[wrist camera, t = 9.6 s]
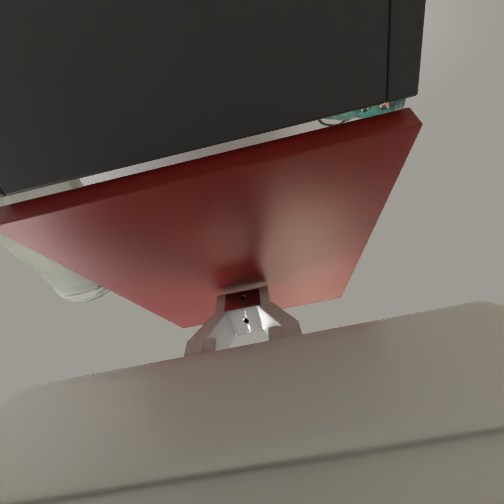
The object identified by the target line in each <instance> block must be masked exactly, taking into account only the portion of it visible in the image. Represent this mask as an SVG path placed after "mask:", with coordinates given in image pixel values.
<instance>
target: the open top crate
mask: <svg viewBox="0 0 504 504" xmlns="http://www.w3.org/2000/svg"><path fill="white" fill-rule="evenodd" d="M425 2H426V0H0V198H1V197H5V196H8V195H14V194H18V193H22V192H26V191H30V190H34V189H38V188H42V187H46V186H50V185H54V184H58V183H62V182H66V181H71V180H75V179H79V178H83V177H87V176H91V175H95V174H99V173H103V172H107V171H111V170H115V169H119V168H123V167H128V166H131V165H136V164H139V163H144V162H148V161H152V160H156V159H160V158H164V157H168V156H172V155H176V154H180V153H184V152H188V151H193V150H196V149H201V148H205V147H209V146H213V145H217V144H221V143H225V142H229V141H233V140H237V139H241V138H245V137H250V136H254V135H258V134H262V133H266V132H270V131H274V130H278V129H282V128H286V127H290V126H295V125H298V124H303V123H307V122H311V121H315V120H319V119H323V118H327V117H331V116H335V115H339V114H343V113H347V112H352V111H356V110H360V109H364V108H368V107H372V106H376V105H380V104H383V103H388V102H392V101H397V100H401V99H405V98H408V97H413V96H416V95H417V93H418V82H419V72H420V60H421V48H422V36H423V25H424V13H425Z"/></svg>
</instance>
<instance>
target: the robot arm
mask: <svg viewBox="0 0 504 504" xmlns="http://www.w3.org/2000/svg"><path fill="white" fill-rule="evenodd" d="M264 330H265V332H266V333H267V334H268V335H269V341H265V342H260V343H255V344H250V345H244V346H239V347H234V348H229V347H230V345H231V344H232V342H233V340H234V339H235V337H236V336H238V335H242V334H247V333H252V332H257V331H264ZM0 504H504V305H502V304H498V303H494V302H490V301H476V302H470V303H465V304H460V305H455V306H450V307H444V308H439V309H434V310H429V311H424V312H418V313H413V314H408V315H402V316H397V317H392V318H387V319H381V320H376V321H371V322H366V323H360V324H355V325H350V326H344V327H339V328H334V329H329V330H324V331H318V332H313V333H308V334H302V332H301V329H300V325H299V322H298V321H297V320H296V319H295V318H293V317H292V316H290V315H289V314H288V313H286V312H285V311H284V310H282V309H281V308H279V307H278V306H277V305H275V304H274V303H272V302H271V298H270V294H269V290H268V286H263V287H259V288H255V289H250V290H246V291H240V292H234V293H229V294H224V295H219V296H218V297H217V302H216V309H215V314H214V315H212V316H211V317H210V318H209V319H208V320H207V321H206V322H205V324H204V325H203V326H202V327H201V328H200V329H199V330H198V331H197V332H196V333H195V334H194V336H193V337H192V338H191V339H190V340H189V341H188V342H187V345H186V349H185V353H184V357H181V358H176V359H171V360H166V361H160V362H155V363H149V364H144V365H139V366H134V367H129V368H123V369H118V370H112V371H107V372H102V373H97V374H92V375H86V376H81V377H76V378H71V379H65V380H60V381H55V382H49V383H44V384H38V385H32V386H27V387H24V388H21V389H19V390H17V391H16V392H14V393H12V394H11V395H9V396H8V397H6V398H5V399H3V400H2V401H0Z"/></svg>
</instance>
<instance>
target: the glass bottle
mask: <svg viewBox="0 0 504 504" xmlns="http://www.w3.org/2000/svg"><path fill="white" fill-rule="evenodd" d="M79 187H83V184H82V183H81V181H80V179H75V180H71V181H66V182H62V183H58V184H54V185H50V186H46V187H42V188H38V189H34V190H30V191H26V192H22V193H18V194H14V195H8V196H5V197H1V198H0V207H1V206H5V205H9V204H13V203H17V202H21V201H25V200H30V199H34V198H38V197H42V196H46V195H50V194H54V193H58V192H62V191H67V190H71V189H75V188H79ZM0 244H1V245H2V246H3V247H5V248H6V249H7V250H8V251H9V252H11V253H12V254H13V255H15V256H16V257H18V258H19V259H21V260H22V261H23V262H25V263H26V264H28V265H29V266H30V267H32V268H33V269H34V270H35V271H36V272H37V273H38V274H39V275H41V276H42V277H43V278H44V279H45V280H47V281H48V282H49V283H50V284H51V285H52V287H53V288H54V290H55V291H56V292H57V293H58V294H59V295H60V296H61V297H63V298H65V299H67V300H70V301H75V302H85V301H91V300H94V299H96V298H99V297H101V296H103V295H105V294H106V293H108V292H109V291H110V290H108V289H106V288H105V287H103V286H101V285H99V284H97V283H95V282H93V281H91V280H89V279H87V278H85V277H83V276H81V275H79V274H78V273H76V272H74V271H72V270H70V269H68V268H66V267H64V266H62V265H60V264H58V263H56V262H54V261H52V260H50V259H49V258H47V257H45V256H43V255H41V254H39V253H37V252H35V251H33V250H31V249H29V248H27V247H25V246H23V245H22V244H20V243H18V242H16V241H14V240H12V239H10V238H8V237H6V236H4V235H2V234H0Z"/></svg>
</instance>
